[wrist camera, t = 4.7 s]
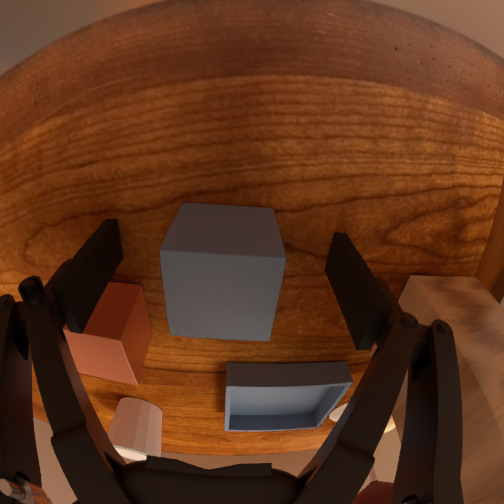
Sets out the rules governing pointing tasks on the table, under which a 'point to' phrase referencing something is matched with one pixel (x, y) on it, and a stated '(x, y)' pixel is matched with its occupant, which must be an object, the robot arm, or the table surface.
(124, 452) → the shot glass
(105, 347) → the terracotta block
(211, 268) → the slate block
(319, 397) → the tray
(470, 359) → the stand
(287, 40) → the table surface
